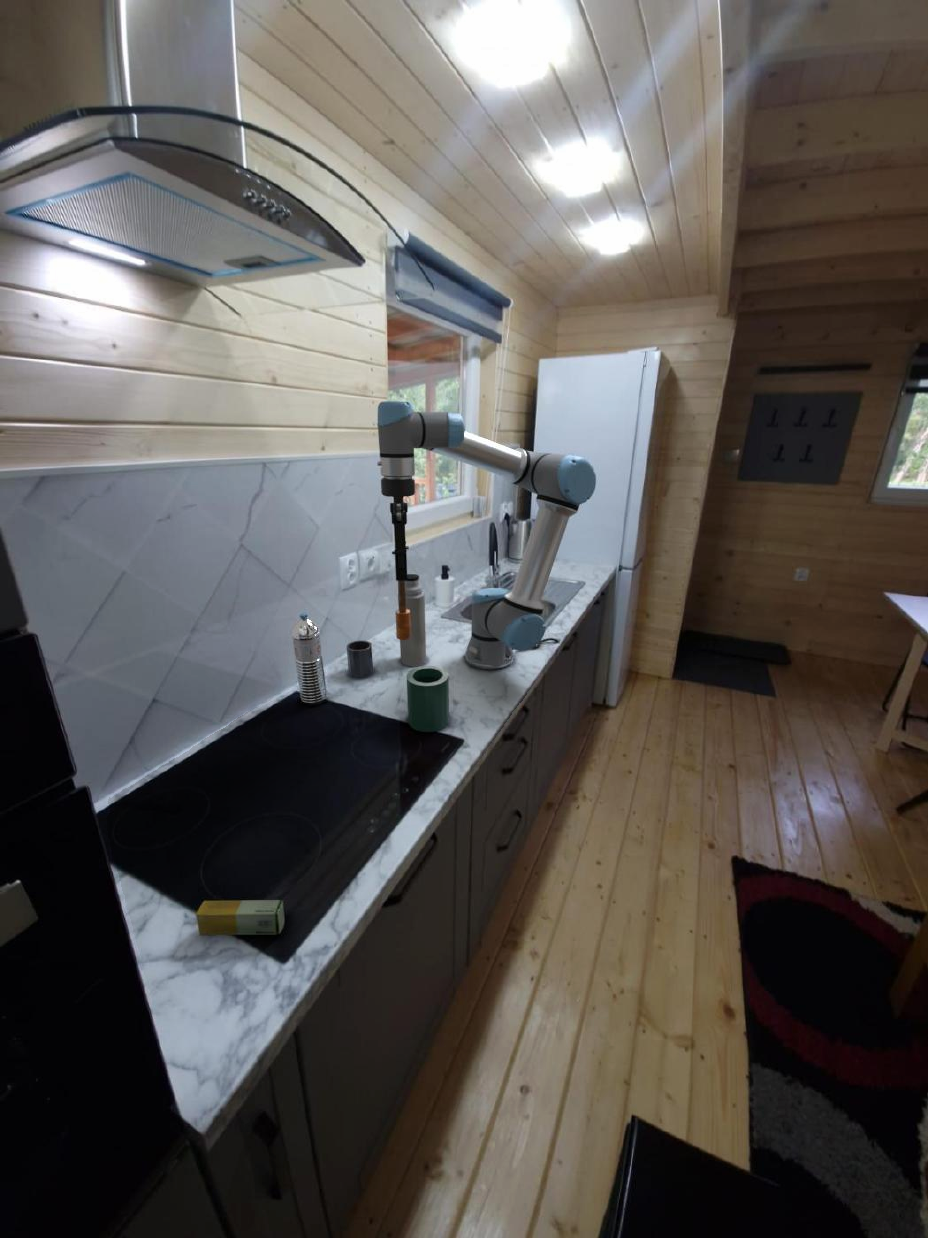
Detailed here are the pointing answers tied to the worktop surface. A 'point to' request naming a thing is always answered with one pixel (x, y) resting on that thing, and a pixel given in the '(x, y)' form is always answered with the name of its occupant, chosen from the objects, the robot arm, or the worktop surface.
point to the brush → (402, 614)
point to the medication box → (241, 917)
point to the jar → (428, 698)
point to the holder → (360, 659)
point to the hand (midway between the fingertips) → (401, 578)
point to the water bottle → (309, 661)
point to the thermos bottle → (414, 624)
